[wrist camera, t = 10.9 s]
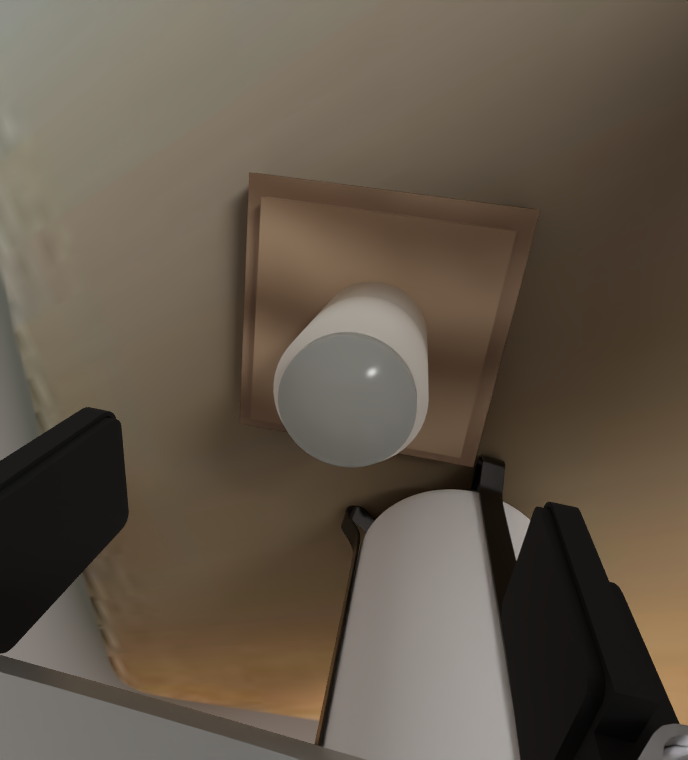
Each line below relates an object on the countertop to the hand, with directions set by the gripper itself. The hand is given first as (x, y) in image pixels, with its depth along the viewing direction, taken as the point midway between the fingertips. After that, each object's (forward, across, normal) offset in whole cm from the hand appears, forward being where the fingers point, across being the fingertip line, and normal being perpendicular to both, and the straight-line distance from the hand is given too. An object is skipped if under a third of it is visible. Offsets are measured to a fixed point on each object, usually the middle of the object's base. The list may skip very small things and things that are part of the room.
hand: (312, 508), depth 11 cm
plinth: (+18, +1, +1) cm, 18 cm away
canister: (+15, +1, +1) cm, 15 cm away
